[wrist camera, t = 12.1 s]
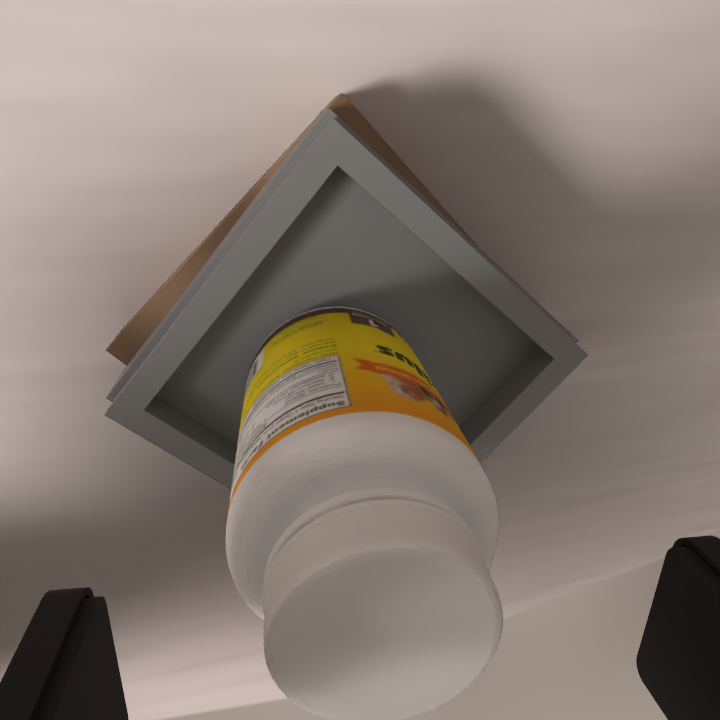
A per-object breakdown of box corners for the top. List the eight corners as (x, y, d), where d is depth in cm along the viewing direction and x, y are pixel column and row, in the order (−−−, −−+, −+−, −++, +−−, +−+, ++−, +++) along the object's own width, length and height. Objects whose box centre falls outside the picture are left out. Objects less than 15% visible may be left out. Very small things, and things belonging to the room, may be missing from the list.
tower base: (335, 484, 27) (341, 524, 24) (126, 323, 23) (106, 349, 20) (524, 311, 25) (555, 334, 22) (333, 97, 21) (342, 93, 18)
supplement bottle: (441, 408, 19) (593, 675, 10) (299, 478, 20) (315, 800, 10) (372, 267, 17) (483, 440, 8) (213, 349, 17) (134, 610, 8)
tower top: (357, 506, 24) (372, 577, 20) (129, 361, 20) (94, 416, 16) (540, 313, 22) (597, 353, 18) (321, 111, 18) (332, 106, 14)
